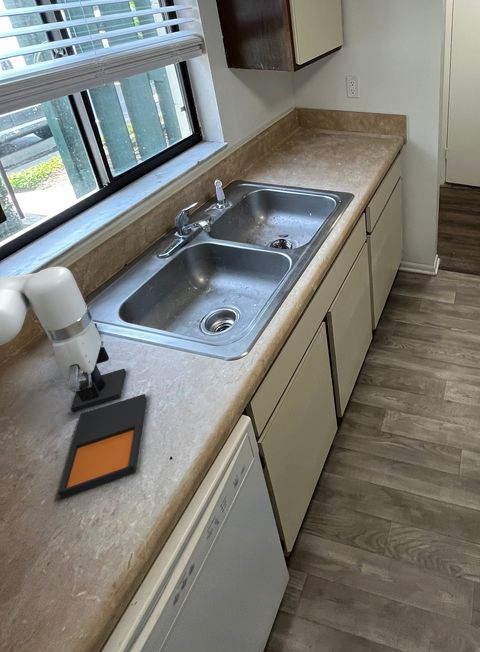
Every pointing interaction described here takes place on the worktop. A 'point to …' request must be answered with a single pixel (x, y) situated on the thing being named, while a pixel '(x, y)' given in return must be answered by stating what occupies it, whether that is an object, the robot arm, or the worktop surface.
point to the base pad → (104, 445)
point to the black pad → (102, 389)
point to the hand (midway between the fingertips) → (96, 379)
